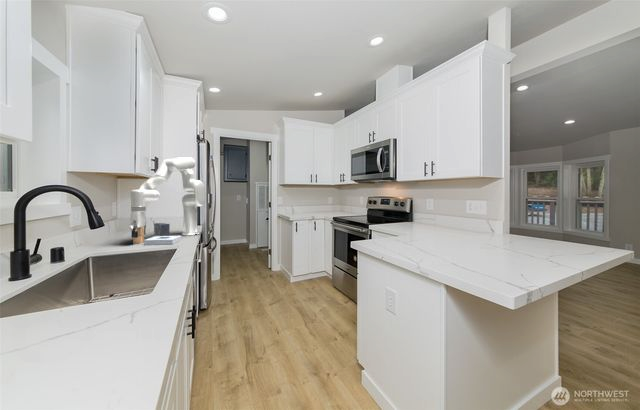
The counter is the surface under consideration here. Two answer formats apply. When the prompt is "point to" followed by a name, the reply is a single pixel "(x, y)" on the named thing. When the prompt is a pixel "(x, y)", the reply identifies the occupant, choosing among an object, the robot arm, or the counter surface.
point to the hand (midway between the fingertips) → (138, 236)
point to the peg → (139, 236)
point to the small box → (161, 229)
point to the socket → (162, 240)
